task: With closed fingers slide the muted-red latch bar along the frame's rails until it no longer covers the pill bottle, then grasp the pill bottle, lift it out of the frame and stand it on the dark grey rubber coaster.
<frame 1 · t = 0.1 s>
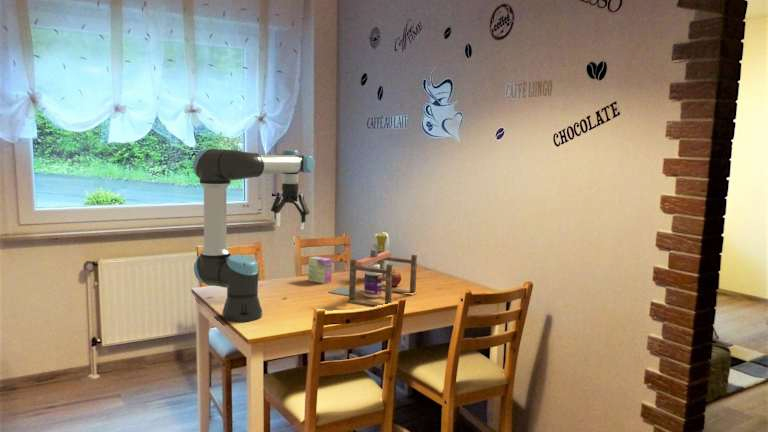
hand: (289, 227, 273), 28 cm above the table, fingers open, 13 cm apart
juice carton: (380, 278, 299), on the table
coaster: (346, 291, 270), on the table
box: (319, 281, 288), on the table
apple: (392, 285, 284), on the table
frame: (372, 296, 263), on the table
pill bottle: (372, 296, 264), on the table
latch bar: (374, 255, 261), point 19 cm above the table, slide at 0.0 cm
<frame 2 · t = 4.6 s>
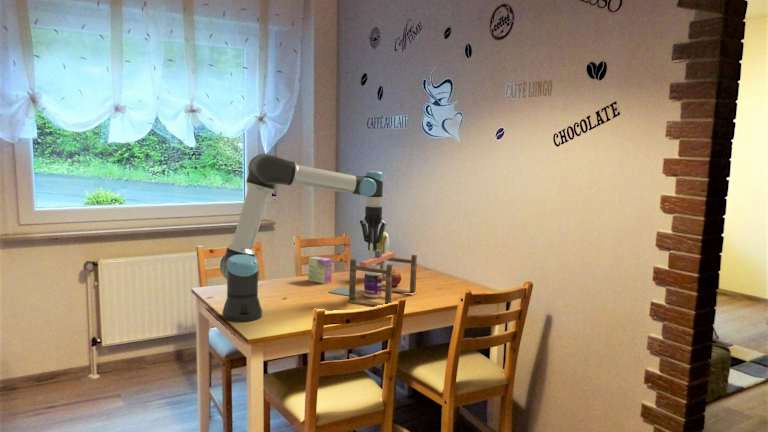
hand: (372, 257, 262), 18 cm above the table, fingers closed
latch bar: (378, 255, 260), point 19 cm above the table, slide at 2.1 cm, touching gripper
everything else where it was.
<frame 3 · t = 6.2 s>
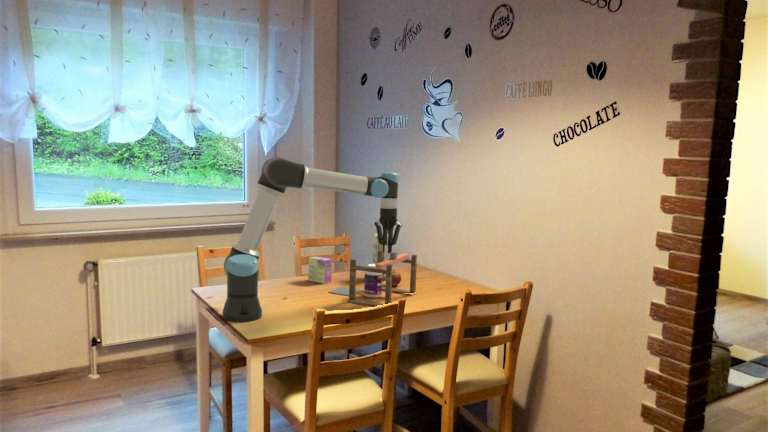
hand: (387, 259, 259), 17 cm above the table, fingers closed
latch bar: (393, 257, 257), point 19 cm above the table, slide at 9.6 cm, touching gripper
everything else where it was.
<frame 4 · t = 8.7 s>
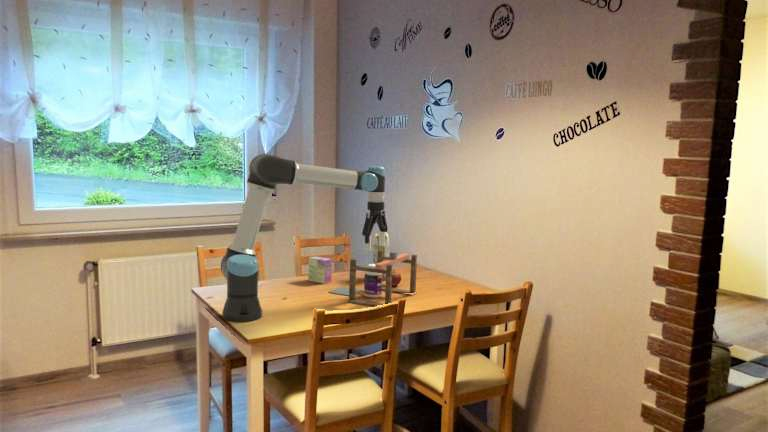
hand: (374, 248, 261), 22 cm above the table, fingers open, 13 cm apart
latch bar: (393, 257, 257), point 19 cm above the table, slide at 9.6 cm
everything else where it was.
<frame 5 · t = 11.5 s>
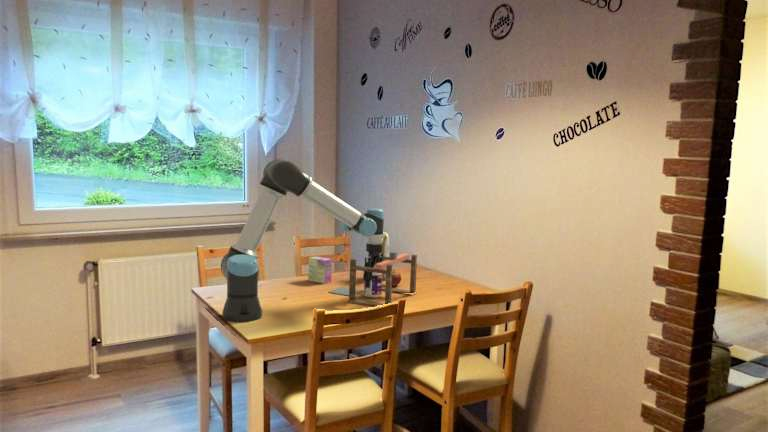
hand: (373, 292, 263), 2 cm above the table, fingers closed on pill bottle, 8 cm apart
pill bottle: (372, 296, 264), on the table, touching gripper
everything else where it was.
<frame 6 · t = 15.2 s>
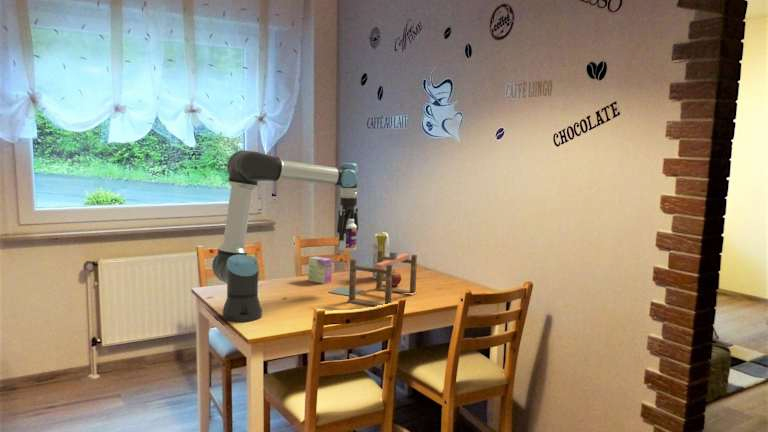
hand: (347, 246, 267), 22 cm above the table, fingers closed on pill bottle, 8 cm apart
pill bottle: (347, 250, 267), point 20 cm above the table, touching gripper
everything else where it was.
when the fingers open (4 cm above the table, at t = 19.0 s): pill bottle drops 2 cm, resting on coaster.
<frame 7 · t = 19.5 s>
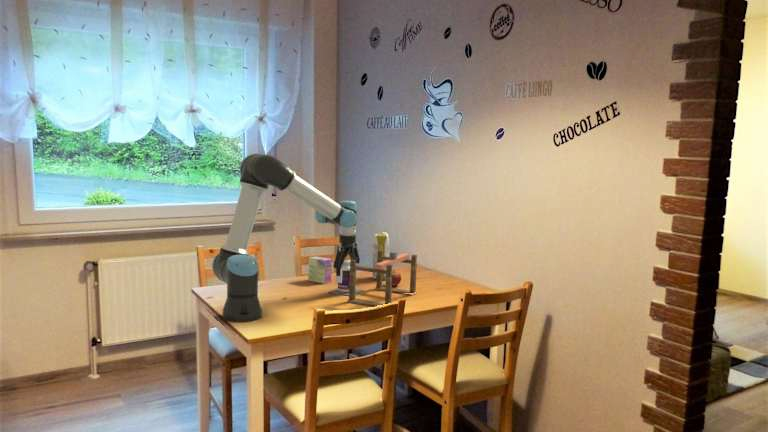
hand: (346, 279, 269), 6 cm above the table, fingers open, 13 cm apart
pill bottle: (346, 291, 269), resting on coaster
everything else where it was.
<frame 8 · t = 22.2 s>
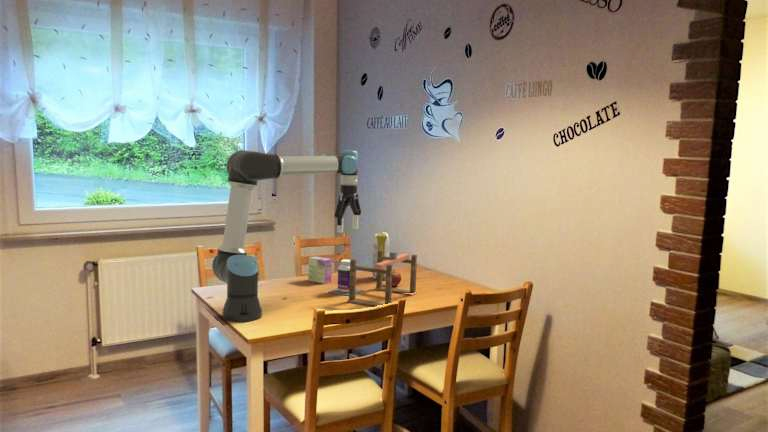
hand: (347, 230, 266), 29 cm above the table, fingers open, 13 cm apart
nothing on the table moved.
at the end: latch bar slide at 9.6 cm; pill bottle inside the target area on the coaster (0.3 cm from its centre), point 0.2 cm above the coaster's base; pill bottle tilted 0° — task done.
